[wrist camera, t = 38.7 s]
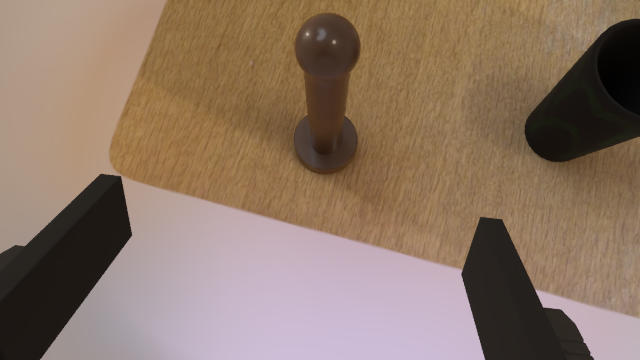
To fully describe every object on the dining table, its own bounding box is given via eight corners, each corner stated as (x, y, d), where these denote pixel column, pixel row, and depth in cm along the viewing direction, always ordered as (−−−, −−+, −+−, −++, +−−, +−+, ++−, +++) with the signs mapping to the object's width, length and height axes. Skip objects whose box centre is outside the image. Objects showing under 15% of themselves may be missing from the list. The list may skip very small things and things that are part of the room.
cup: (552, 79, 41) (644, -3, 29) (614, 137, 40) (736, 75, 28) (495, 128, 40) (567, 63, 28) (557, 190, 38) (659, 148, 27)
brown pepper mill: (287, 164, 39) (257, 62, 21) (305, 109, 40) (291, -30, 23) (346, 181, 39) (366, 92, 21) (363, 125, 40) (395, -4, 22)
